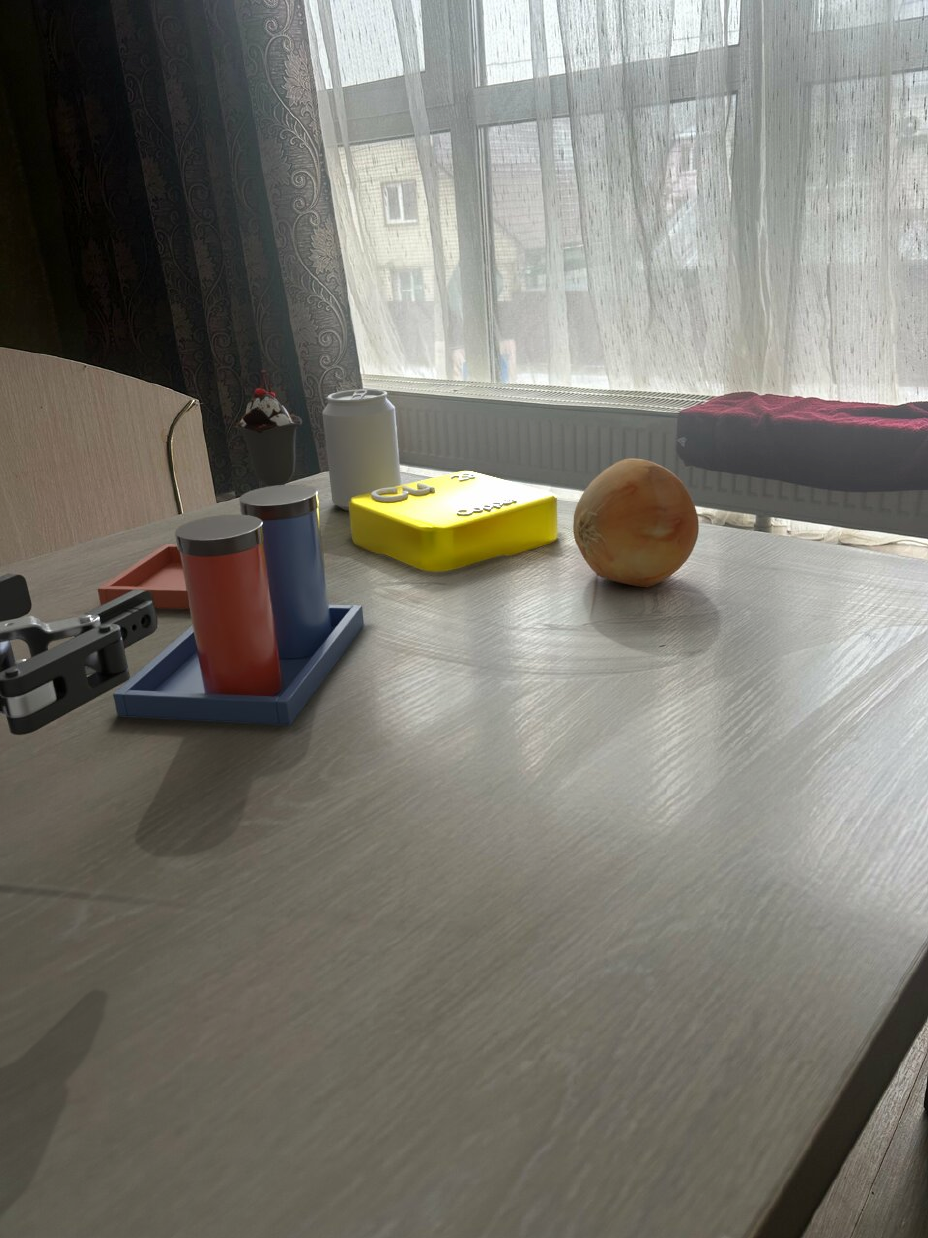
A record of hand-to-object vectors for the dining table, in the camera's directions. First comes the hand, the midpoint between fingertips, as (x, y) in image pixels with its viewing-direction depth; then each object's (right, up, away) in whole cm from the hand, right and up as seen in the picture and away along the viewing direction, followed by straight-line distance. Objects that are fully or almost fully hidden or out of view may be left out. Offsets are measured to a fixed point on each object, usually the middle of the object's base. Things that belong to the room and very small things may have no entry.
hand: (84, 599), depth 49 cm
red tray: (-3, +2, +33) cm, 33 cm away
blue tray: (+5, -5, +17) cm, 18 cm away
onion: (+33, +2, +29) cm, 44 cm away
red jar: (+5, -6, +13) cm, 15 cm away
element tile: (+18, +6, +42) cm, 46 cm away
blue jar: (+8, -3, +20) cm, 21 cm away
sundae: (0, +9, +52) cm, 53 cm away
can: (+9, +11, +55) cm, 57 cm away
